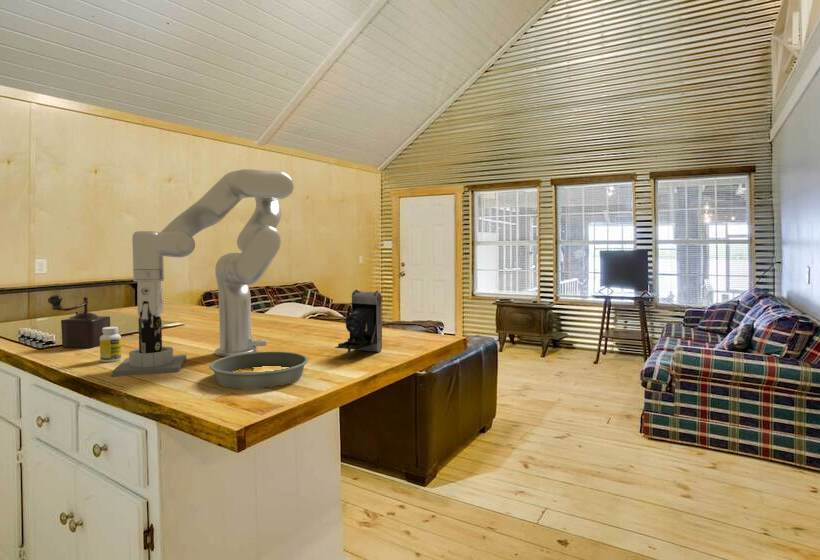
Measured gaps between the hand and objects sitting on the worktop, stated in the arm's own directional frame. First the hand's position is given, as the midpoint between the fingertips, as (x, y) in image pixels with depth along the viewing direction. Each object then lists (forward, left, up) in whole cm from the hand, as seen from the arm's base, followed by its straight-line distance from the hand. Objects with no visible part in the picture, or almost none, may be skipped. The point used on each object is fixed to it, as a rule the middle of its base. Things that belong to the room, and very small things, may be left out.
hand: (150, 340), depth 139 cm
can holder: (0, 0, -8) cm, 8 cm away
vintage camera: (-59, +2, -8) cm, 60 cm away
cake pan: (-29, +20, -8) cm, 36 cm away
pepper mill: (+28, -37, -8) cm, 47 cm away
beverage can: (0, 0, -5) cm, 5 cm away
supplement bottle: (+13, -12, -8) cm, 19 cm away
